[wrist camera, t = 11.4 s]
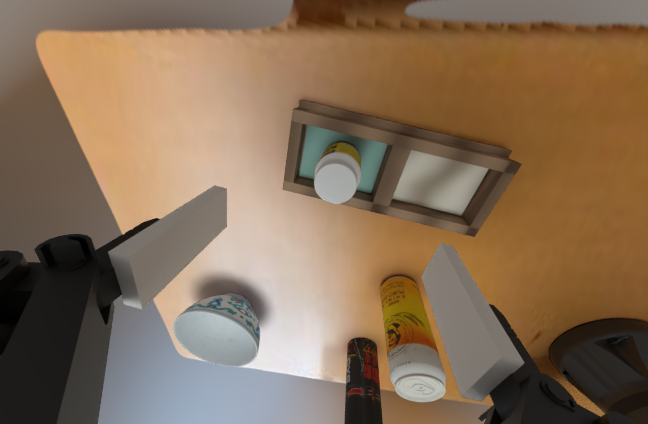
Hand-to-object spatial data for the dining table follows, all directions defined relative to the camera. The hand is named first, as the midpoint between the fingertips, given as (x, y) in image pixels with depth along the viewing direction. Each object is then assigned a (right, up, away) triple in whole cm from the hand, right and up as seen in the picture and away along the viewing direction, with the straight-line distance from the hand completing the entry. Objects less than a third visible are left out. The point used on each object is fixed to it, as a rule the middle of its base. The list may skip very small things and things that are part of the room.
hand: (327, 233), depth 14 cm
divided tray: (+8, +7, +15) cm, 19 cm away
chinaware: (-18, -17, +32) cm, 41 cm away
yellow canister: (+12, -11, +24) cm, 30 cm away
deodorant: (+8, -26, +33) cm, 43 cm away
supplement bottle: (+2, +8, +14) cm, 16 cm away
